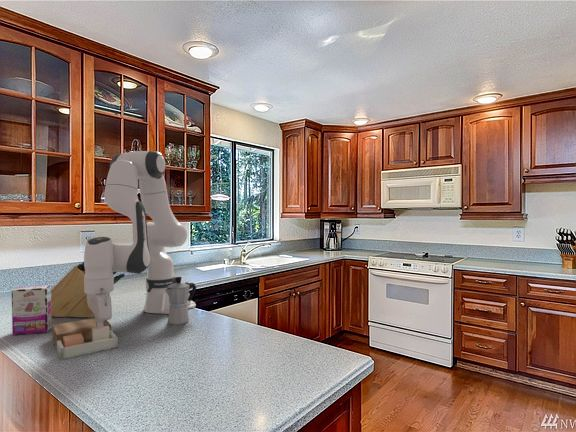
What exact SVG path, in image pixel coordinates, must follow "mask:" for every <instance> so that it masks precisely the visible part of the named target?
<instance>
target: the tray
mask: <svg viewBox="0 0 576 432" xmlns="http://www.w3.org/2000/svg"><path fill="white" fill-rule="evenodd" d="M109 337H110V338H109V339H104V340H99V341H94V342H87V343H84V344H79V345H74V346H69V347H65V348H64V347H63V344H62V342H61V340H57V349H56V353H57V354H58V357H59V359H60V361H62V360H66V359H71V358H76V357H80V356H84V355H89V354H94V353H98V352H97V351H99V352H102V351H101V350H104V351H107V350H106V349H108V350H111V349H110V348H113V349H115V348H114V347H117V348H119V338H118V336H117V335H116V334H115V333H114V332H113V330H112V329H111V330H109ZM93 352H94V353H93Z"/></svg>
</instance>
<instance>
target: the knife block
mask: <svg viewBox="0 0 576 432" xmlns="http://www.w3.org/2000/svg"><path fill="white" fill-rule="evenodd" d="M117 273H118V272H113V274H114V285H115V284H116V283H118V282H119V281H120V280H121V279H122V278H124V277H125V275H126V274H125V273H121V274H117ZM116 274H117V275H116ZM115 275H116V276H115ZM84 276H85V267H84V261H83V262H82V263H78V264H76V265H74V266H73V268H72V269H70V270H69V271H68V272H67V273H66V274H65V275H64V277H62V278H61V280H60V281H58V283H56V285H54V287H52V288H51V309H52V317H59V318H60V317H61V318H62V317H63V318H64V317H68V318H70V317H72V318H88V319H92V318H95V316H94V313H93V312H92V311H91V310H90V309H89V307H88V303H87V294H86V293H84Z"/></svg>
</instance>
